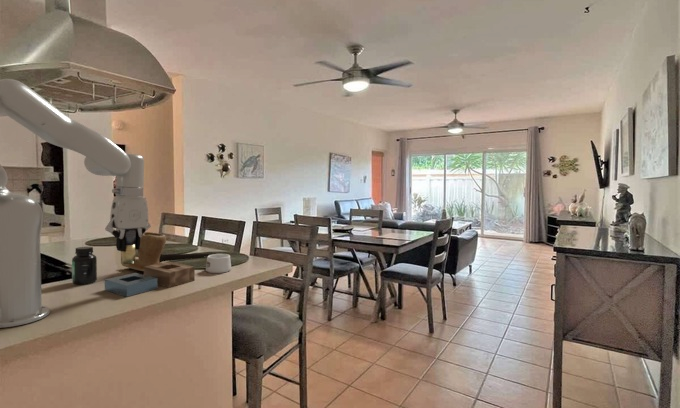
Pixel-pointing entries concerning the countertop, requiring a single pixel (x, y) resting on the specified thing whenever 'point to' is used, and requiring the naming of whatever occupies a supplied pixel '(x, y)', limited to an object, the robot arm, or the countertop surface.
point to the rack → (170, 273)
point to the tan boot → (148, 250)
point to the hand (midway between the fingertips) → (128, 249)
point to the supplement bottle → (84, 266)
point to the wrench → (181, 256)
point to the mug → (218, 263)
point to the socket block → (130, 284)
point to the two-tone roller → (129, 247)
